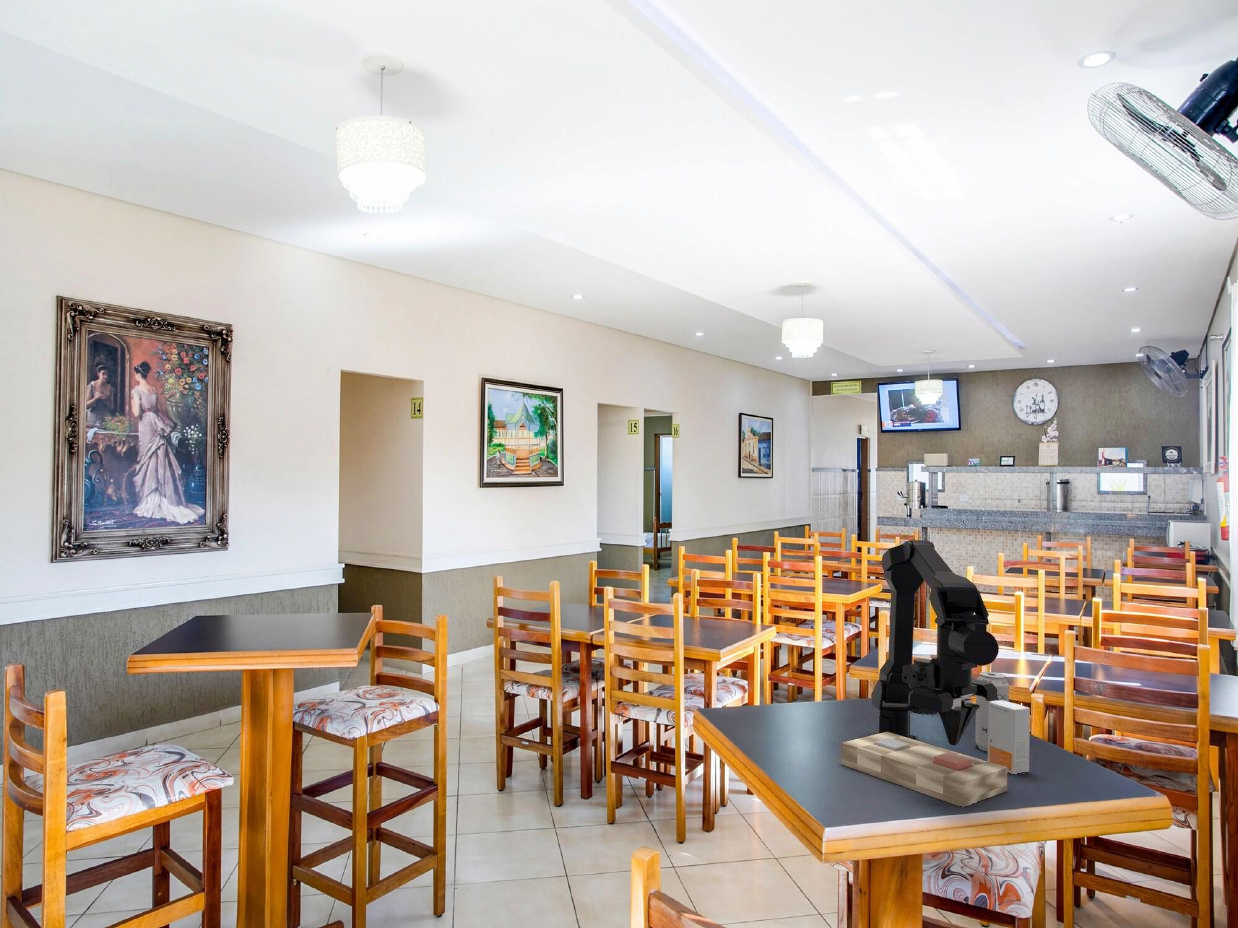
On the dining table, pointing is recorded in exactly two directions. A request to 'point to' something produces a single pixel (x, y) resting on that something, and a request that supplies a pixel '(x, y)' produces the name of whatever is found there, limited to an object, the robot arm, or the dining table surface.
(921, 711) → the supplement bottle
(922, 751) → the console
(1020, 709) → the skincare box
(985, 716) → the energy drink can
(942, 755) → the button red
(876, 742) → the button grey
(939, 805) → the dining table surface
